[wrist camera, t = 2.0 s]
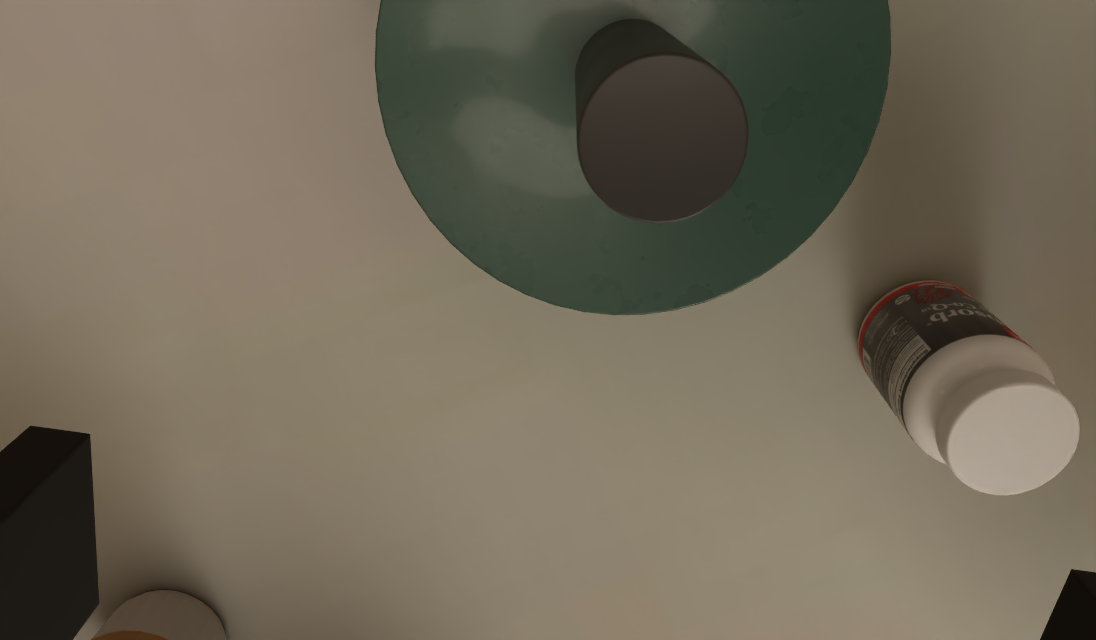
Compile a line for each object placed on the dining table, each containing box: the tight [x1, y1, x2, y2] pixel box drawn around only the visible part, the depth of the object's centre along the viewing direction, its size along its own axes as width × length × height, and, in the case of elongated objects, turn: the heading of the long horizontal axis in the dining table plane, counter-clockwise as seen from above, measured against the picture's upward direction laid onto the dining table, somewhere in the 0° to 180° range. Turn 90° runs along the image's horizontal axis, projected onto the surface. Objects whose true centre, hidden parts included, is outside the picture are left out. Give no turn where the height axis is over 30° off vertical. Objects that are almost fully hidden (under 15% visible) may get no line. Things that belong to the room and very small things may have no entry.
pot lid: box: [375, 0, 891, 315], centre depth 24 cm, size 17×17×12 cm
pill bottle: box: [858, 280, 1080, 495], centre depth 37 cm, size 6×6×10 cm
